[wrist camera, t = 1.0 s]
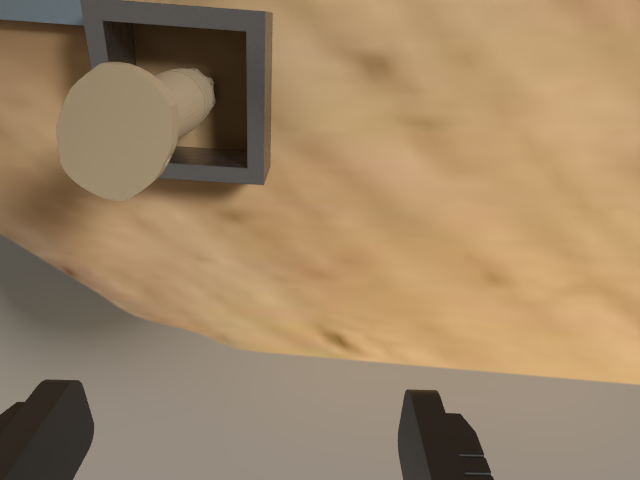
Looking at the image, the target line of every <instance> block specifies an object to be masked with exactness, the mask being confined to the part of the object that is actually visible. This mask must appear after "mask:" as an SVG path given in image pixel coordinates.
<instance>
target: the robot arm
mask: <svg viewBox="0 0 640 480" xmlns="http://www.w3.org/2000/svg"><path fill="white" fill-rule="evenodd" d="M93 434H94V422H93V419H92V415H91V412H90V408H89V405H88V402H87V398H86V395H85V391H84V388H83V385H82V383H81V382H80V381H78V380H44V381H42V382H41V383H40V384H39V385H38V386H37V387H36V389H35V390H34V391H33V392H32V394H31V395H30V396H29V398H28V399H27V400H26V402H17V403H15V404H14V405H13V406H11V407H10V408H9V409H7V410H6V411H5V412H3V413H2V414H1V415H0V480H73V478H74V476H75V474H76V472H77V471H78V469H79V467H80V465H81V463H82V461H83V459H84V458H85V456H86V454H87V452H88V450H89V448H90V446H91V443H92V439H93ZM398 450H399V451H398V452H399V458H400V464H401V469H402V475H403V480H494V479H493V477H492V476H491V471H490V468H489V466H488V463H487V461H486V458H484V453H483V450H482V448H481V445H480V442H479V440H478V437H477V435H476V432H475V431H474V430H473V429H472V427H471V426H470V425H469V424H468V422H467V421H466V420H465V419H464V418H463V417H462V415H461V414H454V413H445V410H444V407H443V404H442V401H441V397H440V395H439V393H438V391H436V390H406V391H405V395H404V401H403V407H402V412H401V419H400V424H399V430H398Z"/></svg>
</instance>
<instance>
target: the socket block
mask: <svg viewBox="0 0 640 480" xmlns="http://www.w3.org/2000/svg"><path fill="white" fill-rule="evenodd" d="M80 4H81V10H82V16H83V22H84V28H85V35H86V41H87V47H88V53H89V59H90V65H91V70H92V69H94V68H95V67H96V66H98V65H99V64H101V63H107V62H122V63H129V64H132V65H135V66H136V61H135V53H134V44H133V36H132V28H131V23H140V24H153V25H166V26H180V27H193V28H206V29H219V30H233V31H246V63H247V151H237V150H222V149H207V148H192V147H177V146H176V148H175V150H174V153H173V155H172V157H171V159H170V161H169V163H168V164H167V166H166V168H165V170H164V171H163V173H162V174H161V175H160V176H159V177H158V178H163V179H178V180H194V181H210V182H225V183H241V184H256V185H264V183H265V180H266V177H267V174H268V171H269V168H270V140H271V75H272V13H270V12H264V11H251V10H238V9H225V8H212V7H199V6H186V5H174V4H161V3H148V2H135V1H122V0H80Z"/></svg>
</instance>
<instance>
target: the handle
mask: <svg viewBox="0 0 640 480" xmlns="http://www.w3.org/2000/svg"><path fill="white" fill-rule="evenodd" d="M214 84H215V82H214V80H213V79H212V78H211V77H207V76H205V75H203V74H202V73H201V72H200V70H199V69H195V68H189V69H186V68H179V69H172V70H168V71H164V72H161V73H159V74H157V75H155V76H154V75H152V74H151V73H150V72H148V71H146V70H144V69H142V68H140V67H138V66H135V65H132V64H129V63H122V62H107V63H101V64H99V65H98V66H96V67H95V68H94V69H92V70H91V71H90V72H88V73H87V74H86V75H84V76H83V77H82V78H81V79H79V80H78V81H77V82H76V83H75V84H74V85H73V86H72V88H71V89H70V91H69V92H68V94H67V96H66V99H65V101H64V104H63V107H62V110H61V112H60V115H59V118H58V123H57V127H56V128H57V144H58V151H59V157H60V163H61V167H62V168H63V169H64V171H65V172H66V173H67V174H68V176H69V177H70V178H71V179H72V180H73V181H75V182H76V183H77V184H78V185H80V186H81V187H83V188H84V189H86V190H87V191H89V192H91V193H93V194H95V195H98V196H100V197H103V198H106V199H109V200H116V201H127V200H128V199H130V198H131V197H133V196H135V195H136V194H138V193H139V192H141V191H142V190H144V189H145V188H147V187H148V186H149V185H150V184H151V183H152V182H153V181H155V180H156V179H157V178H158V177H159V176H160V175H161V174H162V173H163V171H164V170H165V168H166V166H167V164H168V163H169V161H170V159H171V157H172V155H173V153H174V150H175V148H176V145H177V141H178V138H179V137H181V136H183V135H185V134H186V133H188V132H190V131H192V130H193V129H194V128H196V127H197V126H198V125H199V124H200V123H201V122H202V121H203V120H204V119H205V117H206V116H207V115H208V113H209V112H210V110H211V109H212V108H213V106H214V105H215V103H216V98H215V96H214Z"/></svg>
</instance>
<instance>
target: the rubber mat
mask: <svg viewBox="0 0 640 480" xmlns="http://www.w3.org/2000/svg"><path fill="white" fill-rule="evenodd" d="M0 19H2V20H15V21H29V22H42V23H55V24H69V25H82V26H84V22H83V16H82V10H81V4H80V0H0Z"/></svg>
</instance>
